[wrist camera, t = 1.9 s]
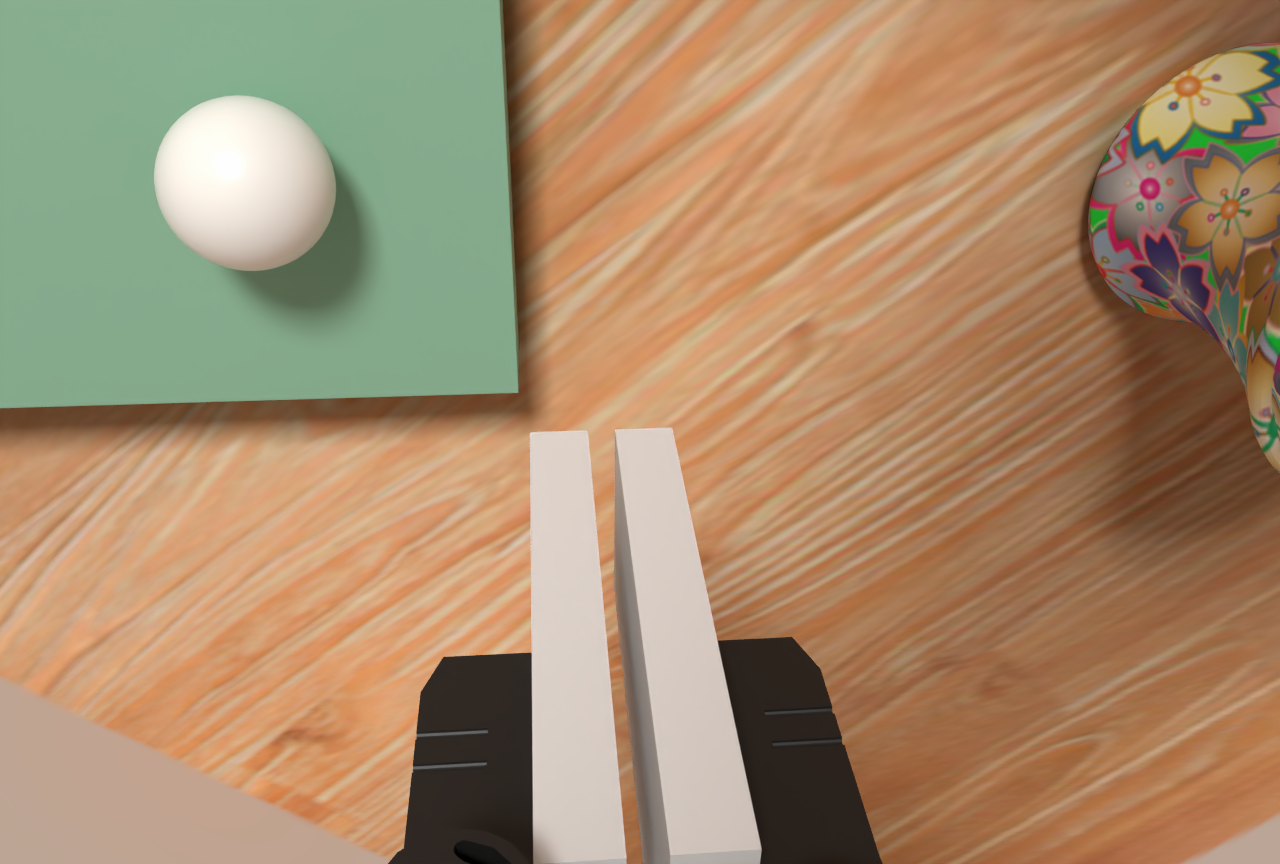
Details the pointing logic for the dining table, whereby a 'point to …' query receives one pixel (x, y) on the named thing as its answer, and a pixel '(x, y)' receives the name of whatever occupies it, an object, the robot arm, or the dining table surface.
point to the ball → (245, 183)
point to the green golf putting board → (275, 298)
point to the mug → (1204, 215)
